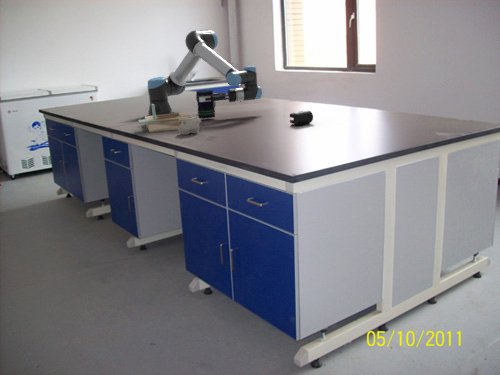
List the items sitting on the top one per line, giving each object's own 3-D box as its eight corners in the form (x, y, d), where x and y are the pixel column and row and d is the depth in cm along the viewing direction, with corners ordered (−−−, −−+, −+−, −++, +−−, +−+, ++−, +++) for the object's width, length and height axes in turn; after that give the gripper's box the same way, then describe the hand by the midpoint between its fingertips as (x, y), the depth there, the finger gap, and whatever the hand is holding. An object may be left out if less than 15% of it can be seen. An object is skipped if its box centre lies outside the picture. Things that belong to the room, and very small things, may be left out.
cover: (138, 121, 276) (136, 105, 273) (155, 119, 278) (153, 103, 275) (139, 123, 267) (137, 107, 265) (156, 121, 270) (154, 105, 267)
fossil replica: (174, 135, 255) (190, 138, 250) (172, 119, 252) (188, 122, 247) (189, 129, 264) (204, 131, 259) (187, 113, 261) (203, 115, 256)
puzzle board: (145, 124, 296) (144, 115, 294) (186, 119, 301) (185, 110, 300) (149, 132, 268) (148, 122, 266) (194, 127, 274) (193, 117, 272)
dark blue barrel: (195, 118, 294) (192, 92, 290) (203, 115, 303) (200, 90, 298) (210, 118, 290) (208, 92, 286) (218, 115, 299) (216, 89, 295)
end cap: (298, 127, 253) (298, 113, 251) (289, 126, 259) (288, 112, 257) (313, 124, 259) (313, 110, 257) (304, 123, 264) (303, 109, 262)
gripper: (240, 103, 288) (201, 107, 283) (231, 99, 309) (195, 103, 304) (239, 90, 286) (200, 93, 281) (230, 87, 307) (193, 90, 302)
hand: (197, 98), depth 292 cm, fingers closed on dark blue barrel, 10 cm apart
